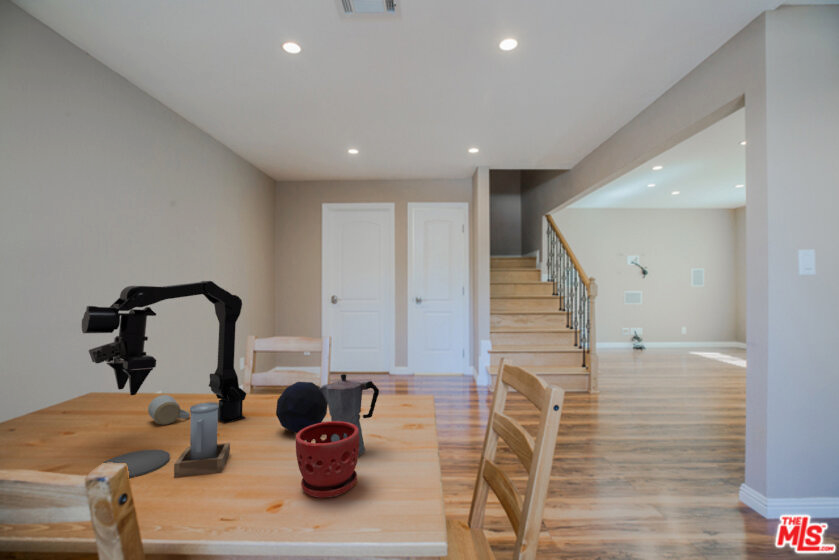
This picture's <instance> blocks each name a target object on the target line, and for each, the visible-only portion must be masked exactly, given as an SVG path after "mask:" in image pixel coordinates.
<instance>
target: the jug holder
mask: <svg viewBox="0 0 839 560" xmlns="http://www.w3.org/2000/svg"><path fill="white" fill-rule="evenodd" d="M230 450H231V442H224V443H217V458H209V459H199V460H190V446H187V447H186V448H184V450H183V452H181V454H180V456H179V457H178V458H177V459H176V461H175V462H174V465H173V467H174V468H173V472H174V473H173V477H174V478H180V477H189V476H199V475H206V474H207V475H208V474H210V475H211V474H217V473H222V472H223V470H224V468H225V466H226V464H227V462H228V459H229V457H230V455H231V451H230Z"/></svg>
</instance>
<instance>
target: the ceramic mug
mask: <svg viewBox="0 0 839 560" xmlns="http://www.w3.org/2000/svg"><path fill="white" fill-rule="evenodd" d="M147 412H148V415H149V417H150V418H151V419H152V420H153V421H154V422H155V423H156V424H159V425H162V426H164V425H165V426H166V425H171V424H173V423H174V422H175V421H177V420H178V418H179V419H182V420H188V419H189V418H190V416H191V412H190V411H186V410H184V409H182V408H181V407H180V404H179V402H177V401H176V400H175V398H174V397H172V396H171V395H168V394H163V395H158V396H156V397H155V398H153V399H152V400H151V401H150V403H149V405H148V408H147Z"/></svg>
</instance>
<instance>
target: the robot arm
mask: <svg viewBox="0 0 839 560" xmlns="http://www.w3.org/2000/svg"><path fill="white" fill-rule="evenodd" d="M200 295H203V296H204V297H205V298H206V300H208V301H209V302H210V303H212V304H213V305H214V311H215V312H214V313H215V315H216V316H215V317H216V318H217V320H218V344H217V367H216V370H215V371H214V373H210V374H209V384H208V387H210V390H211V392H212V393H213V394H215V396H216V399H218V404H219V408H218V421H220V422H222V423H223V424H227V423H230V422H235V421H239V420H242V419H245V418H246V417H245V415H243V406H244V405H243V401H245V399H246V396H247V392H246V391H245V390H243V389H242V388H241V387H240V386H239V385H240V384H239V377H238V374H237V372H236V369H235V351H236V350H235V349H236V348H235V347H236V345H235V344H236V323H237V321H238V319H239V318H240V315H241V313H242V309H243V308H242V307H243V300H242V298H240V297H239V296H238V295H235V294H232V293H230V292H229V291H228V290H227V289H224V288H222V287H220V286H219V285H218V284H216V283H215V282H214V281H212V280H203V281H202V280H201V281H198V282H191V283H183V284H182V283H181V284H172V285H164V286H154V285H153V286H152V285H149V286H148V285H129V286H125V287H124V288H123V289H122V290H121V292H120V294H119V297H118V298H117V299H116V301H114V302H113V303H112V304H111V305H110V306H107V307H106V306H94V305H87V306H86V310H85V312H84V313H83V317H82V319H81V332H82V333H83V334H112V333H114V331H115V330H118V335H116V336H115V337H114V339H113V340H114V341H113V342H110V343H106V344H102V345H100V346H97V347H94V348H91V349H88V353H89V356H90V359H91V362H92V363H95V364H100V363H101V364H102V363H104V362H106V365H108V366H109V367H110V368H111V369H113V372H114V376H115V381H116V386H117V389H118V390H120V391H121V390H124V388H125V386H126V384H127V382H128V385H129V386H128V387H129V395H130V396H135V395H137V393H138V392H139V389H140V388H141V387H142V386H143V384H144V383H145V381H146V379H147V377H148V376H149V374H150V373H151V372H152V371H154V369H155V368H156V366H157V359H156V358H155V357H154V356H152V355H147V352H146V351H145V341H148V340H149V337H148V336H146V332H147V331H146V329H147V322H148V321H147V318H148V316H150V317H156V316H157V313H156V312H155V311H153V309H152V308H151V307H150V306H151V305H154V304H157V303H159V302H162V301H165V300H170V299H171V300H172V299H177V298H179V299H180V298H185V297H194V296H200ZM135 308H142V309H135Z"/></svg>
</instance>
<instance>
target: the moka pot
mask: <svg viewBox="0 0 839 560" xmlns="http://www.w3.org/2000/svg"><path fill="white" fill-rule="evenodd" d="M340 378H341V380H339V381H334V382H332V383H327V384H323V385H322V386H319V387H320V388H319V390H321V391H322V393H323V395H324V397H325V399H326V401H327V403H328V406H327V408H328V412H329V416H330V421H342V422H348V423H352V424H354V425H356V426H357V427H358V430H359V454H358V456H360V455H362V454H363V452H364V451H366V450H365V443H364V437H363V432H362V425H361V421H360V419H361V415H360V414H361V411H362V401H363V400H362V398H363V391H365V390H366V391H367V390H369V389H372V390H373V393H372V398H371V402H370V408H369V410H368V413H367V414H362V418H363V419H369V418H372V417H373V414H374V412H375V411H374V410H375V407H376V403H377V400H378V397H379V394H380V389H379V388H378V387H377V386H376V385H375V384H374V382H373V381H372V380H369V381H367V382H366V381H357V380H347V374H345V373H342V374H340ZM344 438H347V434H346V433H344ZM331 440H332V442H336V441H340V438H339V436H338V435H337V434H334V435H332V437H331Z"/></svg>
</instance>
